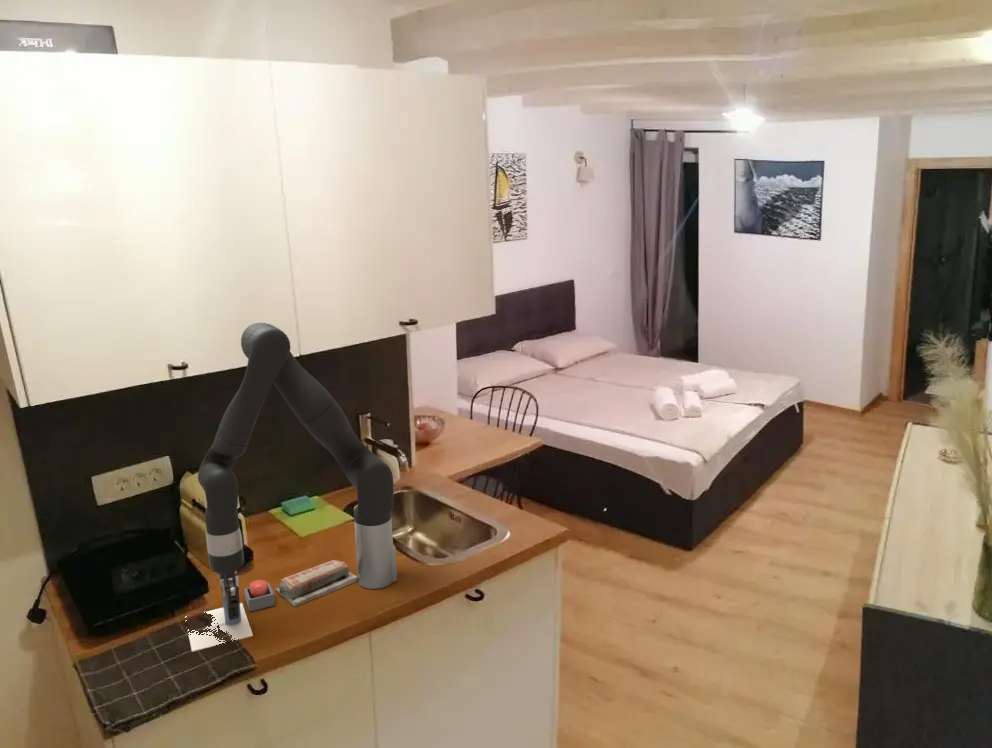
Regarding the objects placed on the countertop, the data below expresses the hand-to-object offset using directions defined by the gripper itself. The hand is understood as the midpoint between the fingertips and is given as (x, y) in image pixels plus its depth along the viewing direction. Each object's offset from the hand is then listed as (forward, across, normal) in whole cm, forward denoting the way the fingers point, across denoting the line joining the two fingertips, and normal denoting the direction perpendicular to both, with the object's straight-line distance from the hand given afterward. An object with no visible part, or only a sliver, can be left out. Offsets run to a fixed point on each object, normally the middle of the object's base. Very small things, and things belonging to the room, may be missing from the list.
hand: (232, 613), depth 182 cm
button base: (+2, +6, -7) cm, 10 cm away
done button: (0, +6, -7) cm, 9 cm away
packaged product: (+3, +7, -21) cm, 23 cm away
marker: (+2, 0, 0) cm, 2 cm away
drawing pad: (+2, 0, +4) cm, 4 cm away
